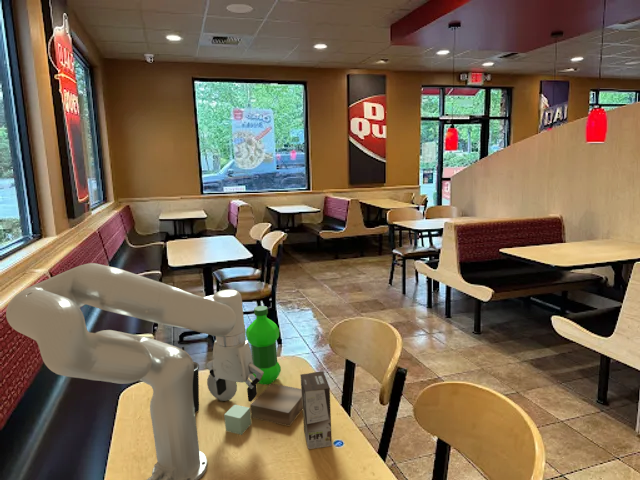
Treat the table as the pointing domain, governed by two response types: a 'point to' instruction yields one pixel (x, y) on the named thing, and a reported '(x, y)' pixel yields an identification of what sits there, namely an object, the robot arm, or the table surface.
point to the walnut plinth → (278, 404)
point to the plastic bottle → (264, 345)
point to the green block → (237, 419)
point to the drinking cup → (195, 386)
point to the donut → (227, 394)
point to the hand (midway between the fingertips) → (237, 395)
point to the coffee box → (316, 409)
